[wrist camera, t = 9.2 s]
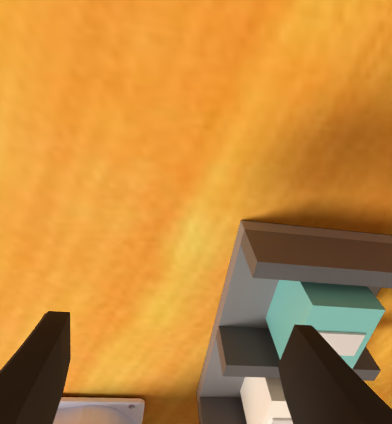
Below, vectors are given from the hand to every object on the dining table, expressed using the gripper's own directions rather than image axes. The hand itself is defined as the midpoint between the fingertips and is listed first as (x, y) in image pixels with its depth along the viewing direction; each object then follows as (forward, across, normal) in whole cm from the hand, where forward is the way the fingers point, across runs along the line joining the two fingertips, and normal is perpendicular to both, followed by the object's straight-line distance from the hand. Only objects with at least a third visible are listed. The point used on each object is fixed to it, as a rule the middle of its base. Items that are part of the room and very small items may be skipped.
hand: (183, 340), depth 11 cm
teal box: (+8, -9, +5) cm, 13 cm away
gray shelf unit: (+9, -9, +8) cm, 16 cm away
